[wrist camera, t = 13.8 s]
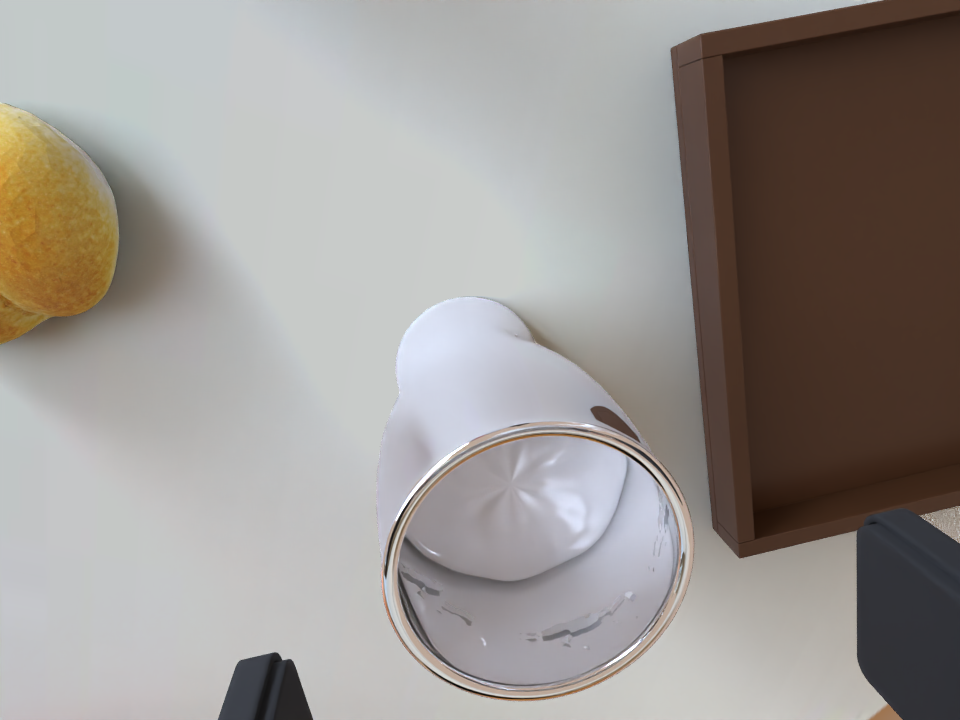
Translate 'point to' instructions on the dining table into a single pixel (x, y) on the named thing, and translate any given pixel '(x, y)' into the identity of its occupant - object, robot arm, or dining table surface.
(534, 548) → the beer glass
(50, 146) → the bread roll
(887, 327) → the tray
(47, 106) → the dining table surface
